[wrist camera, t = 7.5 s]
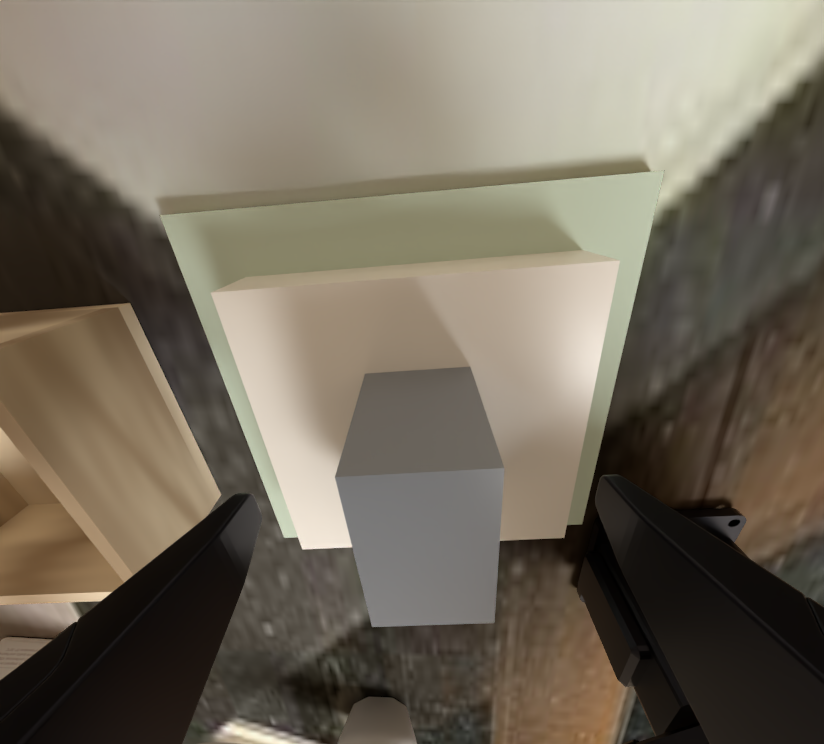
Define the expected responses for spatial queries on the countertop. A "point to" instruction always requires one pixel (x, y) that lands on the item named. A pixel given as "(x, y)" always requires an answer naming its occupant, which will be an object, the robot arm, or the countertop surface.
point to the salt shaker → (378, 723)
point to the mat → (419, 243)
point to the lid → (424, 413)
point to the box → (89, 455)
